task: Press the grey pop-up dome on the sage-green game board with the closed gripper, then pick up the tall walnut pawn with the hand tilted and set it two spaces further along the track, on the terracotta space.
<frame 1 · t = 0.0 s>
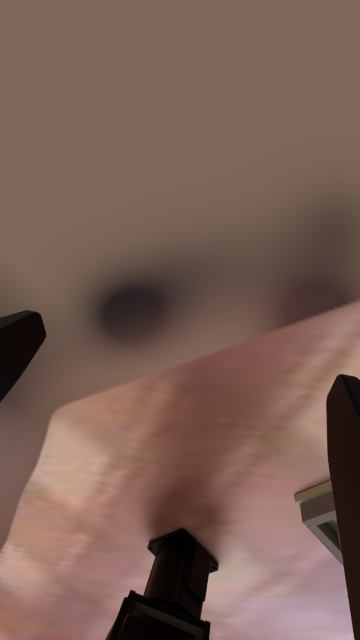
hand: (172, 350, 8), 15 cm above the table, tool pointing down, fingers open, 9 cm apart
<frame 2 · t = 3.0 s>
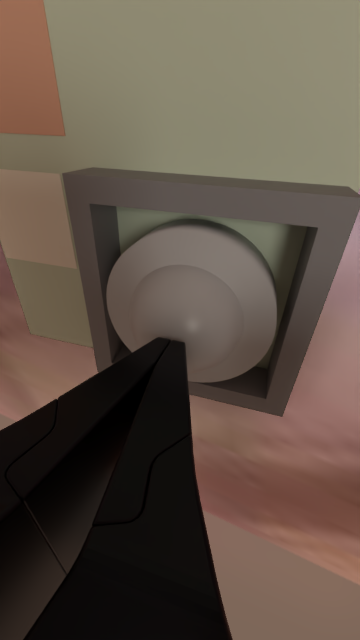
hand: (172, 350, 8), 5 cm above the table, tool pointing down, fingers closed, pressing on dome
dome: (186, 315, 10), point 3 cm above the table, slide at 0.5 cm, touching board, gripper
board: (141, 44, 8), on the table
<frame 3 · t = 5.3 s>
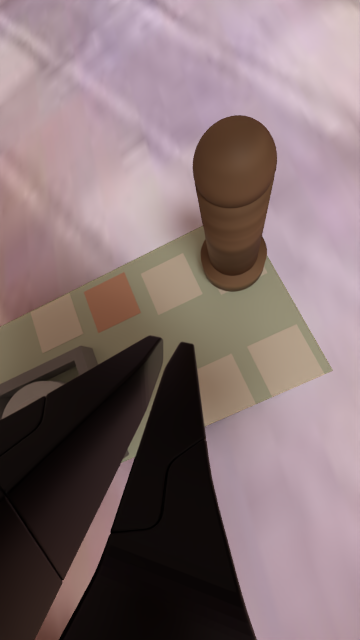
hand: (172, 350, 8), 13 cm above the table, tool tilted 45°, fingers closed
pawn: (232, 262, 22), point 1 cm above the table, touching board
dome: (40, 425, 19), point 3 cm above the table, slide at 0.1 cm
board: (140, 351, 22), on the table
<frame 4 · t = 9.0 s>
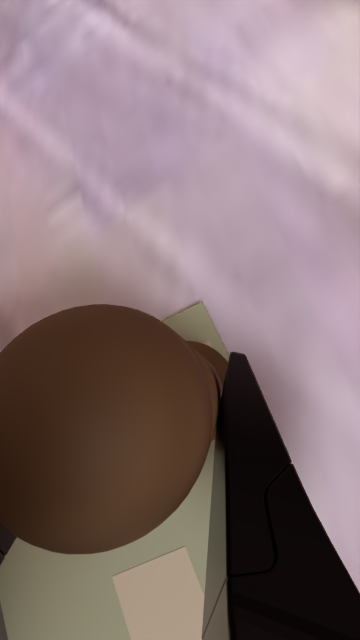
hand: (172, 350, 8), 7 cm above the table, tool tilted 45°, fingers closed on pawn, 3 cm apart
pawn: (191, 390, 14), point 1 cm above the table, touching board, gripper
board: (54, 516, 15), on the table
when the fingers open (8 cm above the table, at t = 12.2 s): pawn drops 1 cm, resting on board.
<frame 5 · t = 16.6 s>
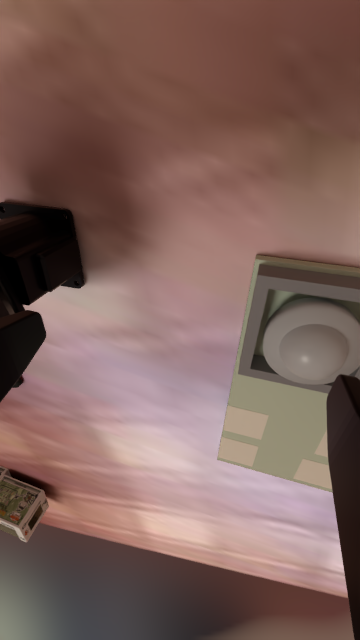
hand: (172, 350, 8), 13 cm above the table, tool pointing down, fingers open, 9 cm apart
dome: (311, 348, 18), point 3 cm above the table, slide at 0.1 cm
board: (313, 397, 24), on the table
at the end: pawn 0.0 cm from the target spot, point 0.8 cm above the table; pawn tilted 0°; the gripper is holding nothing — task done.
